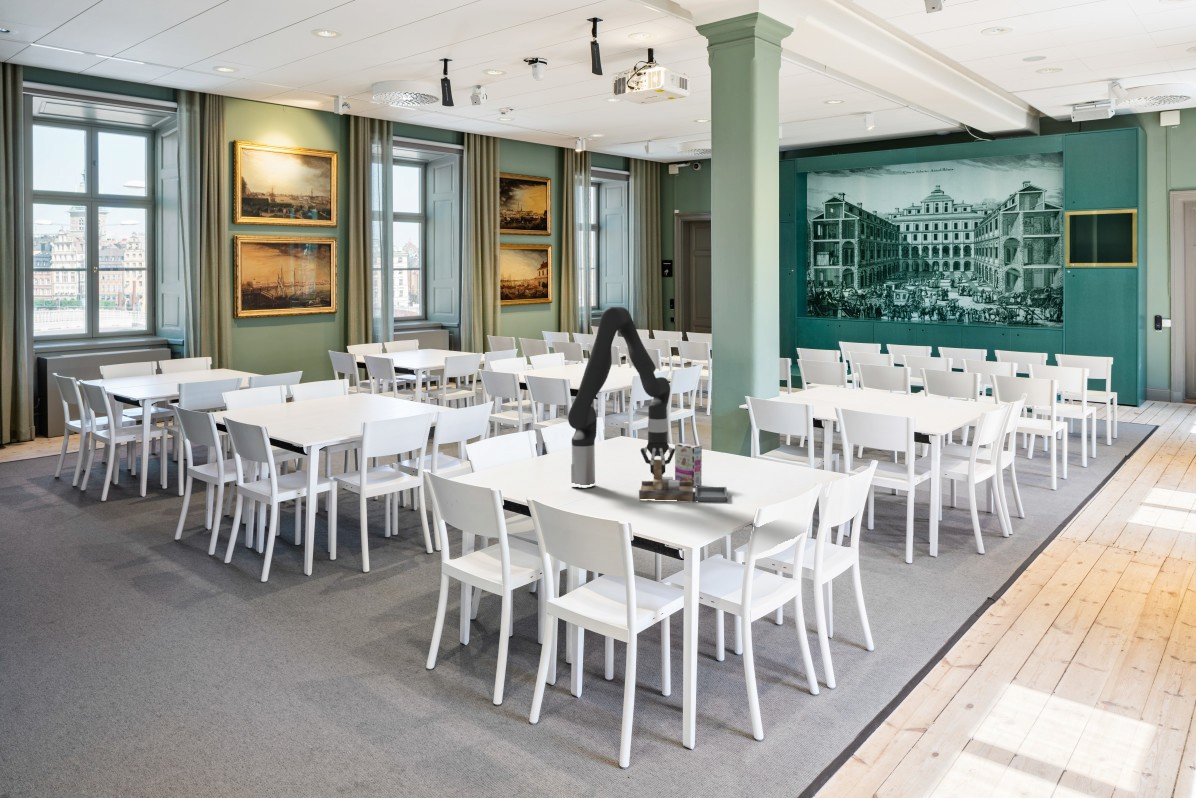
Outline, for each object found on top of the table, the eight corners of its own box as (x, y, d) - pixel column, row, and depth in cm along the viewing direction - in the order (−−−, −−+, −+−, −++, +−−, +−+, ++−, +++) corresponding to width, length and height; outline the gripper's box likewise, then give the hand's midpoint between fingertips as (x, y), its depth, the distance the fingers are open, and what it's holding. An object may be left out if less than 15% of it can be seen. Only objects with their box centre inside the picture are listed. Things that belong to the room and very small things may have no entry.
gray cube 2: (668, 492, 342) (668, 482, 342) (669, 489, 346) (669, 479, 346) (679, 492, 342) (679, 482, 341) (679, 490, 346) (679, 479, 345)
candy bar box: (702, 486, 363) (702, 445, 360) (693, 487, 360) (693, 447, 357) (683, 481, 371) (683, 442, 369) (674, 482, 368) (674, 443, 366)
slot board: (639, 501, 340) (639, 490, 339) (641, 490, 356) (641, 480, 355) (692, 501, 338) (692, 491, 337) (692, 491, 353) (692, 481, 353)
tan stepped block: (653, 491, 341) (653, 463, 340) (654, 485, 352) (654, 457, 351) (661, 491, 341) (660, 463, 339) (662, 485, 352) (662, 457, 350)
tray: (695, 501, 338) (695, 496, 337) (695, 491, 353) (695, 486, 353) (727, 502, 336) (727, 497, 336) (726, 492, 352) (726, 487, 352)
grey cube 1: (662, 489, 348) (661, 479, 347) (662, 486, 352) (662, 476, 351) (672, 489, 347) (672, 479, 347) (672, 486, 351) (672, 476, 350)
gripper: (638, 431, 341) (638, 476, 343) (675, 431, 339) (675, 476, 341) (640, 428, 348) (640, 471, 350) (676, 428, 346) (676, 472, 349)
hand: (657, 473), depth 346 cm, fingers closed on tan stepped block, 3 cm apart
